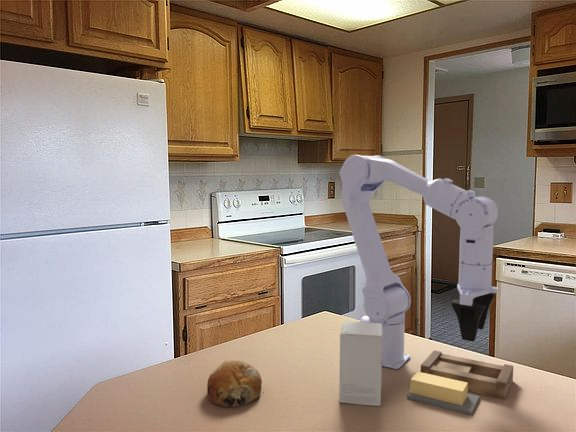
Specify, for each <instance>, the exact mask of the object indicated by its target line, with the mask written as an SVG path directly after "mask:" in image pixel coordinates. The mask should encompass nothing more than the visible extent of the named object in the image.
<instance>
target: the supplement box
mask: <svg viewBox="0 0 576 432" xmlns="http://www.w3.org/2000/svg"><path fill="white" fill-rule="evenodd" d="M382 373H383V366H382V323H367V322H360V321H343V322H342V325H341V329H340V333H339V385H338V386H339V389H338V390H339V391H338V392H339V393H338V394H339V398H338V402H339V403H342V404H353V405H362V406H373V407H374V406H375V407H380V406H381V403H382V402H381V400H382V380H383V379H382V376H383V375H382Z"/></svg>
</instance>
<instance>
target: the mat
mask: <svg viewBox="0 0 576 432" xmlns="http://www.w3.org/2000/svg"><path fill="white" fill-rule="evenodd" d="M406 399H408V400H411V401H416V402H420V403H424V404H428V405H433V406H436V407H440V408H444V409H447V410H451V411H454V412H458V413H459V412H460V413H464V414H467V415H470V416H471V415H473V412H474V411H475V409H476V407H477V405H478V403H479V402H480V395H477V394H473V393H468V396H467V398H466V400H465V402H464V403H463V405H458V404H454V403H450V402H446V401H442V400H438V399H434V398H430V397H426V396H422V395H418V394H413V393H411V390H410V391H409V392H408V394H406Z"/></svg>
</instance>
